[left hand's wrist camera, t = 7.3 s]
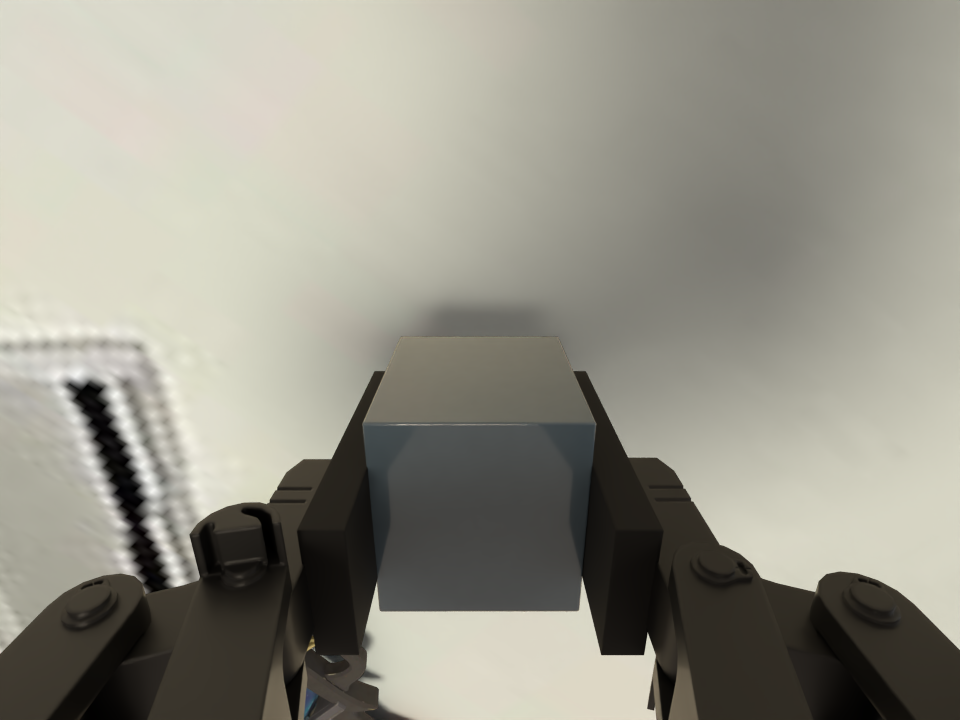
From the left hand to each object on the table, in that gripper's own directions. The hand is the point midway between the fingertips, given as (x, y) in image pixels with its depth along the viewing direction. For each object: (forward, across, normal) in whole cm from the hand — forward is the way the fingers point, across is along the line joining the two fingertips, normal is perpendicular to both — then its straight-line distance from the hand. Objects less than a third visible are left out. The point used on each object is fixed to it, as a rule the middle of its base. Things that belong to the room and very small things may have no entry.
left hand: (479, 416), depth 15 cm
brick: (0, 0, 0) cm, 0 cm away
